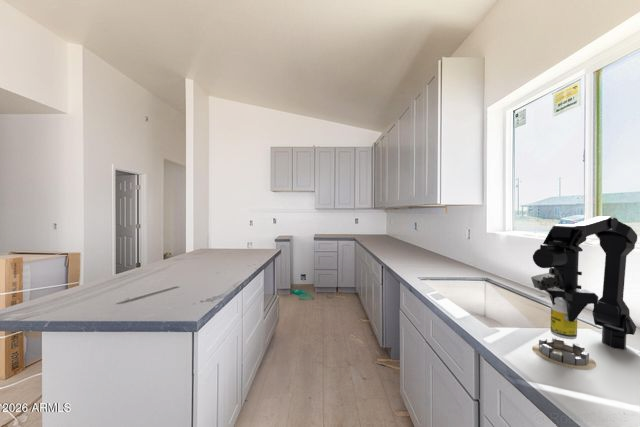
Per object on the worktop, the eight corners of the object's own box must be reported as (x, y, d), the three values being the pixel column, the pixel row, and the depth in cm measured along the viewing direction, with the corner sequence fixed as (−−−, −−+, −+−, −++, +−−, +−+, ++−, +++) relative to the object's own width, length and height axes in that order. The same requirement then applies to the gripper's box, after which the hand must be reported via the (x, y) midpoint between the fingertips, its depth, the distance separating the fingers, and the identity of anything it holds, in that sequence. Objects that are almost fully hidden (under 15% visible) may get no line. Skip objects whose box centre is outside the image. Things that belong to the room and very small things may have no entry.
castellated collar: (535, 343, 97) (535, 334, 97) (579, 351, 92) (580, 342, 92) (544, 359, 86) (544, 349, 86) (594, 369, 82) (595, 359, 81)
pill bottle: (546, 330, 93) (547, 295, 93) (568, 332, 91) (569, 297, 91) (557, 338, 87) (558, 301, 86) (581, 341, 85) (582, 303, 85)
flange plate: (527, 343, 99) (527, 340, 99) (584, 353, 93) (585, 350, 93) (538, 364, 86) (538, 361, 86) (606, 378, 79) (606, 374, 79)
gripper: (521, 259, 99) (519, 305, 100) (554, 271, 81) (552, 327, 81) (558, 261, 97) (556, 307, 98) (600, 273, 79) (598, 331, 79)
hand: (563, 317), depth 89 cm, fingers closed on pill bottle, 6 cm apart
